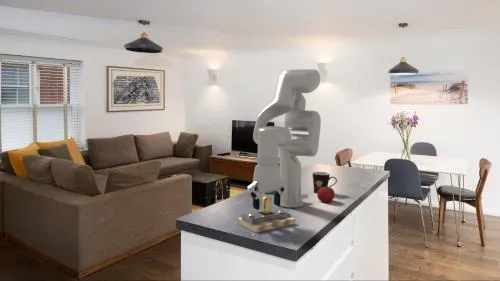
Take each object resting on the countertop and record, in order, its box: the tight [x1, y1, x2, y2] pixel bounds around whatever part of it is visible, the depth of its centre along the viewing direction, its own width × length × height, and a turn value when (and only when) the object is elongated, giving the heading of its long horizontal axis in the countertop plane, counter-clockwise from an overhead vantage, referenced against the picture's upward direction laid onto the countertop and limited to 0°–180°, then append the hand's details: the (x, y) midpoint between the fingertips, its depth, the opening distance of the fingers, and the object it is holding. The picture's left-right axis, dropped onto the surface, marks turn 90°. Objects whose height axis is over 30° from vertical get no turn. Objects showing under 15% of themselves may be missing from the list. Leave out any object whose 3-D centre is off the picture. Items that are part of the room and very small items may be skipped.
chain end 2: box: [264, 209, 292, 222], centre depth 141 cm, size 13×7×2 cm, turn 125°
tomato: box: [316, 186, 336, 203], centre depth 173 cm, size 8×8×7 cm
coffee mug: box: [312, 171, 338, 194], centre depth 188 cm, size 12×9×10 cm
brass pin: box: [261, 195, 272, 216], centre depth 139 cm, size 3×3×10 cm
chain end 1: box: [241, 209, 280, 225], centre depth 138 cm, size 13×7×3 cm, turn 125°
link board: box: [237, 216, 296, 233], centre depth 140 cm, size 18×12×2 cm, turn 125°
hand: (266, 206), depth 139 cm, fingers open, 9 cm apart
